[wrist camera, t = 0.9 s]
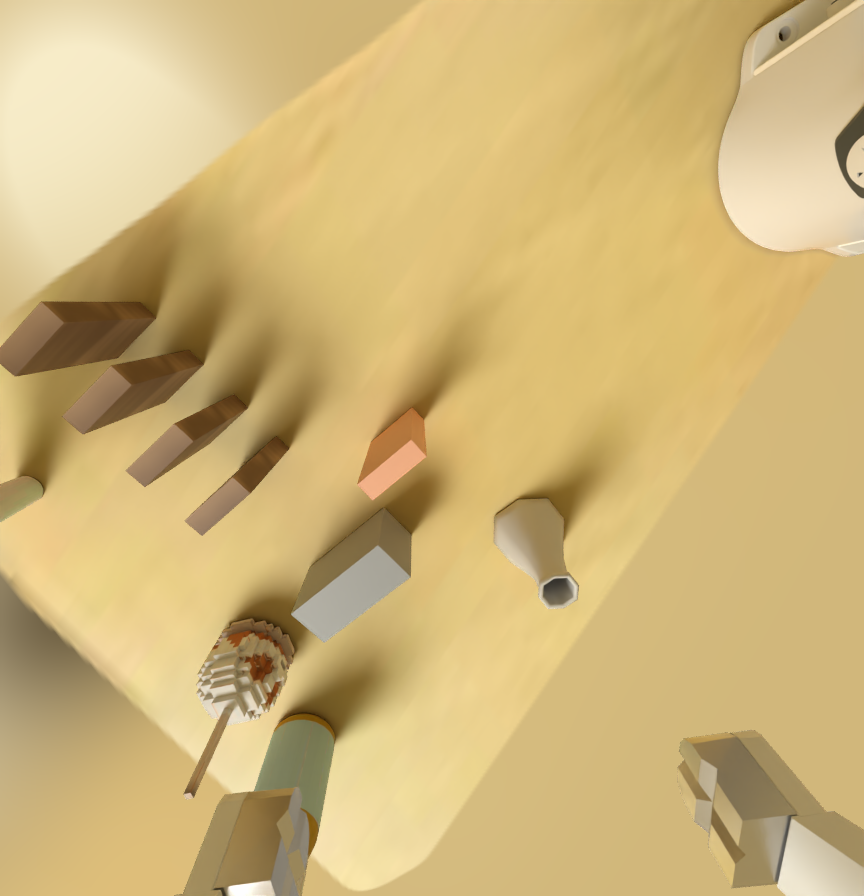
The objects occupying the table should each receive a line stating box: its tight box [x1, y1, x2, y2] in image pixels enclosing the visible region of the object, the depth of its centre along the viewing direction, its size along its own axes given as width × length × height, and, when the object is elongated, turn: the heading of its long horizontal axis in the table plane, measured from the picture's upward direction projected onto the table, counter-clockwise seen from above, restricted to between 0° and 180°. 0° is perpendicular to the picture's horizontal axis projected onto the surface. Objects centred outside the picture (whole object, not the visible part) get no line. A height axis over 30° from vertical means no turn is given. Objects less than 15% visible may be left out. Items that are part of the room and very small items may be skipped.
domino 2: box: [62, 350, 204, 434], centre depth 33 cm, size 2×5×10 cm, turn 130°
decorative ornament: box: [184, 618, 295, 799], centre depth 40 cm, size 8×8×15 cm
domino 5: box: [357, 407, 427, 500], centre depth 35 cm, size 2×5×10 cm, turn 130°
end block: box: [291, 508, 411, 643], centre depth 40 cm, size 10×4×7 cm, turn 130°
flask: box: [494, 498, 579, 609], centre depth 39 cm, size 7×7×10 cm
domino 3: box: [126, 395, 247, 487], centre depth 34 cm, size 2×5×10 cm, turn 130°
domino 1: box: [0, 302, 156, 376], centre depth 32 cm, size 2×5×10 cm, turn 131°
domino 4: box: [185, 436, 289, 536], centre depth 36 cm, size 2×5×10 cm, turn 130°
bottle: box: [254, 713, 335, 896], centre depth 44 cm, size 7×7×15 cm
